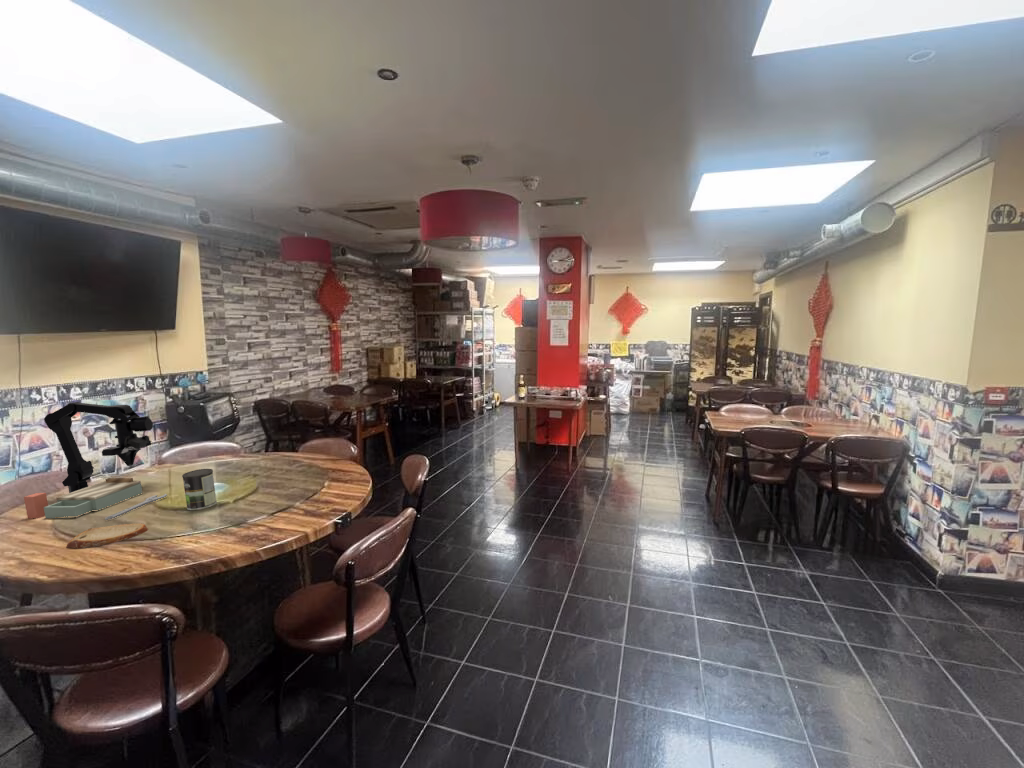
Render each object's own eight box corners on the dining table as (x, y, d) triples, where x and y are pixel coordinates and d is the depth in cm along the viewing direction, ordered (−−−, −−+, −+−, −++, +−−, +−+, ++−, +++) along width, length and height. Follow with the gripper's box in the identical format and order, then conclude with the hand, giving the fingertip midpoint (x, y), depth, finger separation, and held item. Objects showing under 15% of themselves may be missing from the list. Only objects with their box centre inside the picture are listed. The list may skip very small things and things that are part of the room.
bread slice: (153, 530, 161) (151, 520, 160) (92, 554, 144) (90, 543, 144) (122, 525, 167) (120, 515, 167) (60, 547, 150) (58, 537, 150)
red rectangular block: (27, 518, 178) (23, 496, 177) (40, 513, 182) (36, 492, 181) (37, 518, 177) (33, 496, 176) (49, 513, 182) (45, 492, 181)
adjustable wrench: (109, 522, 171) (108, 518, 170) (96, 522, 172) (95, 517, 172) (170, 497, 195) (169, 493, 195) (158, 497, 196) (157, 493, 196)
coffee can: (190, 512, 175) (185, 478, 173) (184, 506, 182) (179, 473, 180) (220, 504, 182) (215, 471, 181) (213, 498, 190) (209, 467, 188)
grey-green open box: (41, 518, 177) (39, 506, 177) (107, 494, 203) (105, 483, 202) (80, 518, 175) (78, 506, 174) (142, 493, 201) (140, 483, 200)
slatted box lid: (56, 499, 183) (55, 493, 182) (105, 483, 202) (104, 477, 202) (95, 499, 181) (93, 493, 180) (140, 482, 200) (140, 477, 200)
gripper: (120, 437, 193) (126, 471, 195) (159, 427, 211) (163, 459, 213) (98, 437, 194) (103, 472, 196) (138, 428, 213) (143, 459, 214)
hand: (130, 465), depth 205 cm, fingers closed
